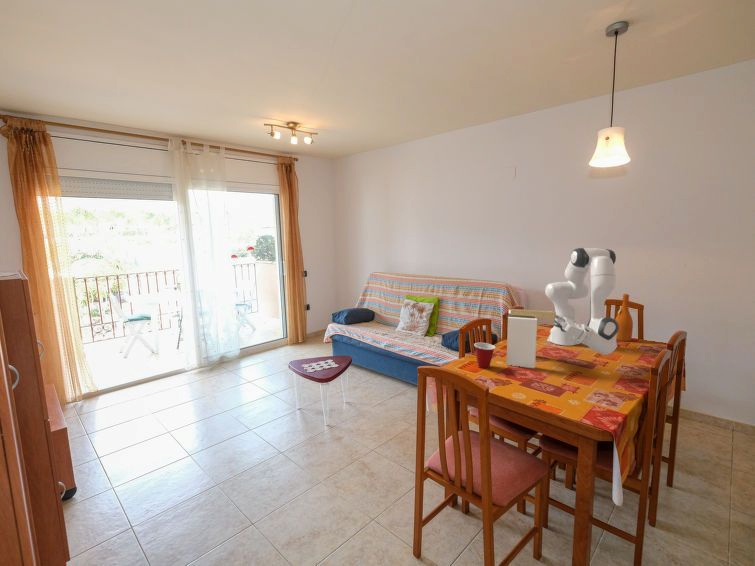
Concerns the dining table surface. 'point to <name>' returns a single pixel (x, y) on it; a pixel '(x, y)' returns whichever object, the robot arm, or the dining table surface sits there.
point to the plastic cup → (484, 354)
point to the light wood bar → (533, 313)
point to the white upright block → (521, 341)
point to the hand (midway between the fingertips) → (556, 318)
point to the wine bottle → (624, 321)
